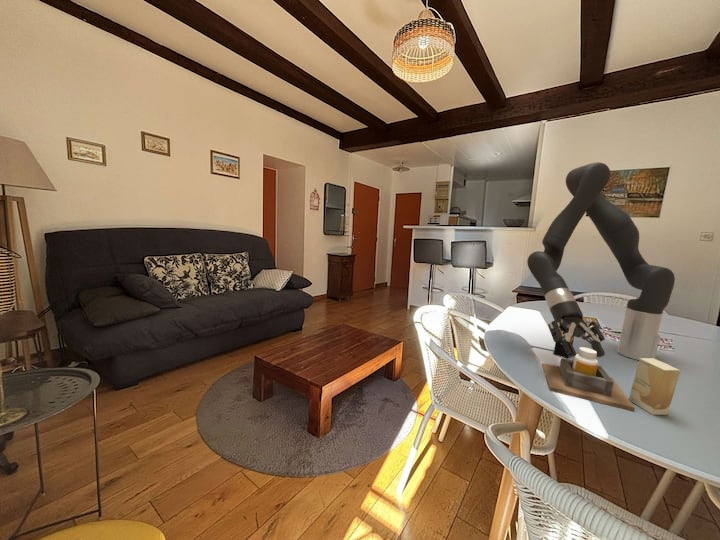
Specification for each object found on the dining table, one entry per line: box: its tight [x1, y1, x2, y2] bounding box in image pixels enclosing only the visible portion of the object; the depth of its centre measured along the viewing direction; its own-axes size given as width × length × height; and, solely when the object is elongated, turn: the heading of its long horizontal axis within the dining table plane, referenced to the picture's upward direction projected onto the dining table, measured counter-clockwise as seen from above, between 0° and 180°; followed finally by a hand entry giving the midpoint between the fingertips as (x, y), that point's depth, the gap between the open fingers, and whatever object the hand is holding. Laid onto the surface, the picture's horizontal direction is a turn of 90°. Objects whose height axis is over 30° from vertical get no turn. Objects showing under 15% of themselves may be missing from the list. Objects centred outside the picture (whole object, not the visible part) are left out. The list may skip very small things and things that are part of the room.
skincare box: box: [628, 358, 681, 416], centre depth 73 cm, size 6×4×12 cm
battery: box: [553, 328, 575, 359], centre depth 103 cm, size 4×7×10 cm, turn 135°
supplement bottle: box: [572, 346, 599, 376], centre depth 82 cm, size 5×5×10 cm
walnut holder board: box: [541, 357, 636, 412], centre depth 83 cm, size 18×16×5 cm
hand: (587, 356), depth 82 cm, fingers open, 8 cm apart
